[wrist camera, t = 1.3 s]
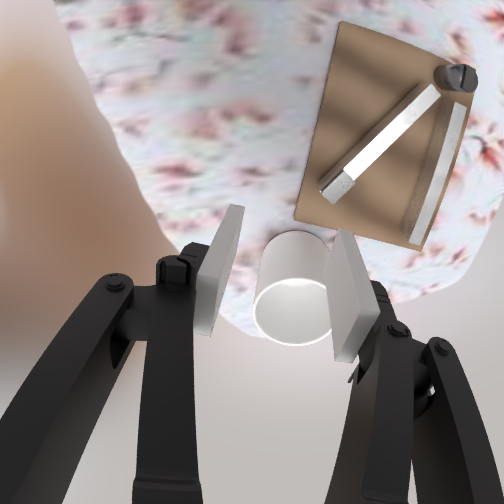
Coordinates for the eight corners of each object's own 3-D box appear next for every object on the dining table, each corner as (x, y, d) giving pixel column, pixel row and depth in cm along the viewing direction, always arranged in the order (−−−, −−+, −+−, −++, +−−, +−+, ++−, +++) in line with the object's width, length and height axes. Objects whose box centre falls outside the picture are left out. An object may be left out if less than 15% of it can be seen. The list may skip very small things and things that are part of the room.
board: (339, 23, 25) (341, 20, 24) (472, 76, 25) (477, 77, 24) (293, 215, 36) (293, 220, 35) (417, 247, 36) (421, 251, 35)
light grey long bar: (419, 82, 26) (434, 83, 22) (429, 94, 26) (445, 96, 23) (316, 182, 32) (320, 194, 29) (327, 192, 33) (332, 205, 29)
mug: (367, 263, 38) (386, 317, 29) (329, 309, 42) (336, 367, 33) (283, 215, 36) (280, 262, 27) (249, 269, 40) (237, 325, 31)
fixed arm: (435, 61, 24) (460, 58, 20) (459, 72, 24) (485, 73, 20) (387, 225, 34) (401, 248, 29) (410, 232, 34) (426, 255, 29)
